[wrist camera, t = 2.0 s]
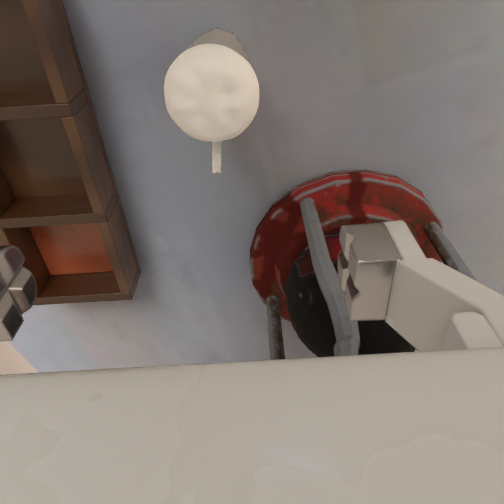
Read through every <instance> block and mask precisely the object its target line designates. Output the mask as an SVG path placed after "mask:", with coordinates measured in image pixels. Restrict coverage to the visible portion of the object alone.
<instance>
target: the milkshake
mask: <svg viewBox="0 0 504 504" xmlns="http://www.w3.org/2000/svg"><path fill="white" fill-rule="evenodd" d="M259 95H260V92H259V83H258V80H257V77H256V74H255V72H254V70H253V68H252V67H251V65H250V63H249V60H248V57H247V55H246V52H245V49H244V47H243V46H242V44H241V43H240V42H239V40H238V39H237V38H236V36H235V35H234V34H233V33H232V32H229V31H225V30H222V29H219V28H215V29H213V30H210V31H208V32H206V33H203V34H201V35H200V36H199V37H198V38H197V39H196V40H195V41H194V42H193V44H192V45H191V46H190V47H189V48H188V49H186V50H185V51H184V52H183V53H181V54H180V55H179V56H178V57H177V58H176V59H175V60H174V61H173V63H172V64H171V66H170V67H169V69H168V71H167V73H166V77H165V81H164V97H165V103H166V108H167V111H168V113H169V115H170V117H171V118H172V119H173V121H174V122H175V123H176V124H177V125H178V126H179V127H180V128H181V129H182V130H183V131H184V132H185V133H186V134H188V135H189V136H191V137H193V138H195V139H198V140H202V141H208V142H212V173H221V141H225V140H229V139H232V138H234V137H236V136H238V135H239V134H241V133H242V132H243V131H244V130H245V129H246V128H247V127H248V126H249V125H250V123H251V122H252V121H253V119H254V117H255V115H256V113H257V110H258V106H259Z"/></svg>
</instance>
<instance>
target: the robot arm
mask: <svg viewBox="0 0 504 504" xmlns="http://www.w3.org/2000/svg"><path fill="white" fill-rule="evenodd" d="M339 241H340V244H341V247H342V250H341V251H340V252H339V253H338V262H337V268H338V279H339V284H340V288H341V290H342V291H344V292H345V305H346V308H347V312H348V315H349V318H350V321H370V320H385V322H386V323H388V324H389V325H390V326H391V327H392V328H393V329H394V330H395V331H396V332H398V333H399V334H400V335H401V336H402V337H403V338H404V339H405V340H407V341H408V342H409V343H410V344H411V345H412V346H413V347H414V348H415V349H417V350H418V351H419V352H403V353H385V354H367V355H351V356H333V357H315V358H296V359H278V360H260V361H242V362H223V363H205V364H187V365H169V366H152V367H134V368H117V369H99V370H81V371H63V372H45V373H28V374H9V375H0V504H504V295H502V294H501V293H499V292H497V291H495V290H493V289H491V288H489V287H487V286H485V285H483V284H481V283H479V282H478V281H476V280H474V279H472V278H470V277H468V276H466V275H464V274H462V273H460V272H458V271H456V270H455V269H453V268H451V267H449V266H447V265H445V264H443V263H441V262H439V261H437V260H435V259H434V258H426V256H425V255H424V253H423V251H422V250H421V248H420V246H419V245H418V243H417V241H416V240H415V238H414V236H413V235H412V233H411V231H410V230H409V228H408V226H407V225H406V223H405V222H404V221H402V220H398V221H388V222H380V223H368V224H356V225H344V226H341V228H340V234H339ZM24 261H25V257H24V256H23V254H22V252H21V250H20V248H18V247H16V246H14V245H9V246H0V341H11V340H13V338H14V337H15V335H16V333H17V331H18V330H19V328H20V326H21V325H22V323H23V321H24V320H23V317H22V315H21V314H23V313H24V312H26V311H27V310H29V309H30V308H31V307H32V305H33V303H34V302H35V300H36V293H37V286H36V280H35V278H34V276H33V274H32V272H31V271H29V270H28V269H26V268H25V267H23V263H24Z"/></svg>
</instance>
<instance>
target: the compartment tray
mask: <svg viewBox="0 0 504 504" xmlns="http://www.w3.org/2000/svg"><path fill="white" fill-rule="evenodd" d="M9 245H14V246H16V247H18V248H20V250H21V252H22V254H23V256H24V257H25V261H24V263H23V267H25V268H26V269H28V270H29V271H31V272H32V274H33V276H34V278H35V280H36V286H37V293H36V300H35V302H34V303H33V305H45V304H63V303H80V302H97V301H115V300H132V299H133V296H134V293H135V289H136V286H137V283H138V279H139V275H140V268H139V265H138V262H137V258H136V255H135V251H134V248H133V244H132V241H131V237H130V234H129V231H128V227H127V224H126V220H125V217H124V213H123V210H122V206H121V203H120V200H119V196H118V193H117V189H116V186H115V182H114V179H113V175H112V172H111V169H110V165H109V162H108V158H107V155H106V151H105V148H104V144H103V141H102V138H101V134H100V131H99V127H98V124H97V120H96V117H95V113H94V110H93V107H92V103H91V100H90V96H89V93H88V89H87V86H86V82H85V79H84V76H83V72H82V69H81V65H80V62H79V58H78V55H77V51H76V48H75V45H74V41H73V38H72V34H71V31H70V27H69V24H68V20H67V17H66V14H65V10H64V7H63V3H62V0H0V246H9Z"/></svg>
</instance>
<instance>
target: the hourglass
mask: <svg viewBox="0 0 504 504" xmlns="http://www.w3.org/2000/svg"><path fill="white" fill-rule="evenodd" d="M398 220H402V221H404V222H405V223H406V225H407V226H408V228H409V230H410V231H411V233H412V235H413V236H414V238H415V240H416V241H417V243H418V245H419V246H420V248H421V250H422V251H423V253H424V255H425V256H426V258H434V259H435V260H437V261H439V262H441V263H442V262H443V263H444V264H445V265H447V266H449V267H451V268H453V269H455V270H456V271H458V272H460V273H462V274H464V275H466V276H468V277H470V278H472V279H474V280H476V279H475V278H474V276H473V275H472V273H471V272H470V270H469V269H468V268H467V266H466V265H465V263H464V262H463V260H462V259H461V257H460V256H459V254H458V253H457V251H456V250H455V249H454V247H453V246H452V244H451V243H450V241H449V240H448V238H447V237H446V235H445V234H444V232H443V227H442V221H441V220H440V218H439V217H438V215H437V214H436V213H435V211H434V210H433V208H432V207H431V206H430V204H429V203H428V201H427V200H426V198H425V197H424V196H423V194H422V193H421V191H419V190H418V189H416V188H414V187H413V186H411V185H409V184H408V183H406V182H405V181H403V180H401V179H400V178H398V177H396V176H392V175H387V174H383V173H378V172H373V171H368V170H357V171H346V172H335V173H329V174H327V175H324V176H321V177H319V178H316V179H313V180H311V181H308V182H306V183H303V184H300V185H298V186H297V187H296V188H294V189H293V190H292V191H290V192H289V193H288V194H286V195H285V196H284V197H282V198H281V199H280V200H278V201H277V202H276V203H274V204H273V205H272V207H271V208H270V210H269V211H268V212H267V214H266V215H265V216H264V218H263V219H262V221H261V222H260V223H259V225H258V226H257V228H256V232H255V235H254V239H253V242H252V246H251V249H250V264H251V272H252V281H253V285H254V287H255V289H256V290H257V292H258V294H259V296H260V297H261V299H262V301H263V303H264V304H265V305H267V315H268V330H269V345H270V360H278V359H285V354H284V345H283V336H282V326H281V318H283V319H286V320H288V321H290V322H291V323H292V326H293V327H294V329H295V331H296V333H297V335H298V337H299V339H300V340H301V341H302V342H303V343H304V344H305V345H306V346H307V348H308V349H309V350H310V351H312V352H313V353H314V354H315V355H317V356H318V357H333V356H351V355H367V354H385V353H403V352H414V351H415V348H414V347H413V346H412V345H411V344H410V343H409V342H408V341H407V340H405V339H404V338H403V337H402V336H401V335H400V334H399V333H398V332H396V331H395V330H394V329H393V328H392V327H391V326H390V325H389V324H388V323H386V322H385V320H370V321H350V318H349V315H348V312H347V308H346V305H345V292H344V291H342V290H341V288H340V284H339V279H338V268H337V262H338V253H339V252H340V251H341V250H342V247H341V244H340V241H339V234H340V228H341V226H344V225H356V224H368V223H380V222H388V221H398Z"/></svg>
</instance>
